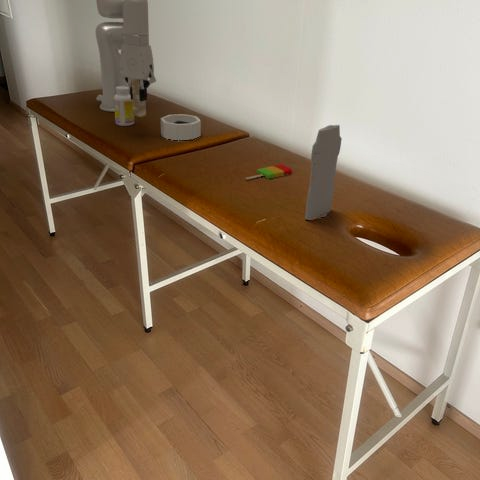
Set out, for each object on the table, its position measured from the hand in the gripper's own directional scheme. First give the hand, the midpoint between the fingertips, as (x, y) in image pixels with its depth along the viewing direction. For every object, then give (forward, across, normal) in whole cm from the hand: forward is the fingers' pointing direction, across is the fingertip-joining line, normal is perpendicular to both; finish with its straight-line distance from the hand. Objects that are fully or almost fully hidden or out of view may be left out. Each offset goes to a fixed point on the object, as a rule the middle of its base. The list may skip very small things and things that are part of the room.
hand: (138, 99), depth 167 cm
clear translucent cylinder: (+5, 0, 0) cm, 5 cm away
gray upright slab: (+10, +72, -29) cm, 78 cm away
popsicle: (+11, +51, -11) cm, 53 cm away
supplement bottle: (+13, -13, +9) cm, 21 cm away
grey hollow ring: (+12, +11, +8) cm, 18 cm away
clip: (+12, +11, +8) cm, 18 cm away
